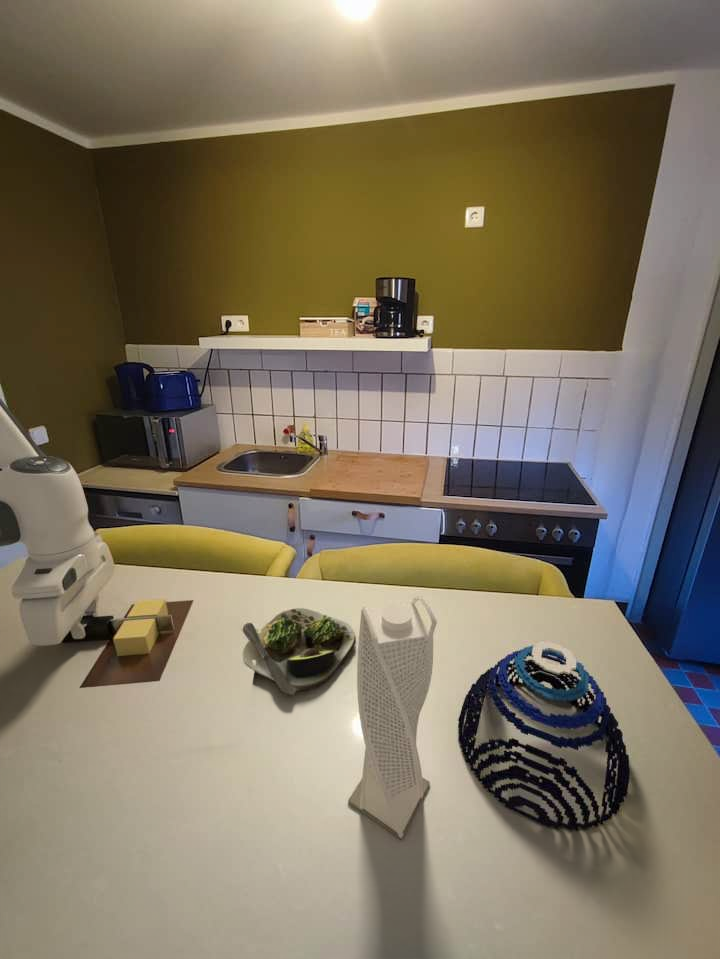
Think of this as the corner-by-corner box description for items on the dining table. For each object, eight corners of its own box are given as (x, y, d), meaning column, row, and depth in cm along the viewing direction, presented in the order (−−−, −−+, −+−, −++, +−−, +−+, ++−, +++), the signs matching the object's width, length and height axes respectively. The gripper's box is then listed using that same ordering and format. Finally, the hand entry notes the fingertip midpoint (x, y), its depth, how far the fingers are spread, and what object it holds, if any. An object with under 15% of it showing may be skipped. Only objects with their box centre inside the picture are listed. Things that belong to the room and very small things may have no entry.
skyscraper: (440, 791, 50) (457, 590, 41) (409, 859, 44) (419, 640, 34) (379, 754, 55) (380, 564, 45) (342, 811, 48) (334, 605, 39)
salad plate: (210, 662, 70) (206, 639, 68) (281, 603, 84) (279, 583, 82) (305, 713, 60) (303, 688, 59) (367, 637, 75) (367, 615, 73)
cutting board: (49, 698, 63) (46, 690, 63) (108, 612, 82) (107, 606, 81) (161, 688, 65) (159, 680, 64) (194, 606, 84) (193, 599, 83)
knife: (60, 642, 72) (56, 628, 70) (68, 632, 74) (63, 618, 73) (171, 634, 73) (168, 619, 72) (176, 625, 75) (173, 610, 74)
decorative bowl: (477, 665, 69) (485, 589, 64) (621, 714, 60) (644, 630, 55) (439, 775, 52) (446, 684, 47) (630, 866, 43) (663, 766, 38)
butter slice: (130, 633, 74) (126, 616, 73) (140, 616, 78) (136, 600, 77) (160, 630, 75) (157, 614, 74) (168, 614, 79) (165, 598, 78)
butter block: (117, 656, 69) (112, 638, 68) (128, 637, 73) (124, 620, 72) (149, 653, 70) (145, 636, 68) (158, 634, 74) (155, 618, 73)
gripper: (78, 528, 77) (95, 593, 82) (2, 596, 58) (30, 676, 63) (115, 526, 78) (130, 591, 82) (51, 593, 59) (75, 672, 63)
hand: (86, 628), depth 72 cm, fingers closed on knife, 2 cm apart
